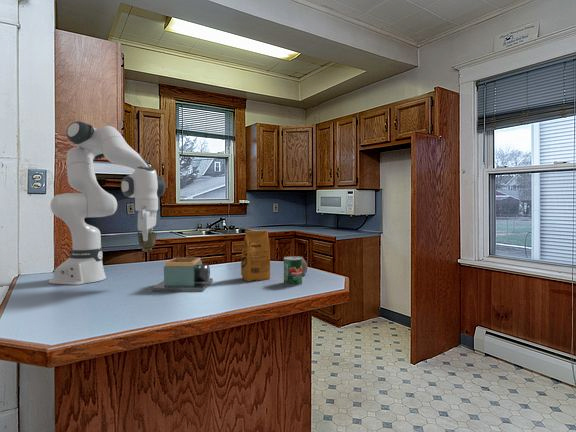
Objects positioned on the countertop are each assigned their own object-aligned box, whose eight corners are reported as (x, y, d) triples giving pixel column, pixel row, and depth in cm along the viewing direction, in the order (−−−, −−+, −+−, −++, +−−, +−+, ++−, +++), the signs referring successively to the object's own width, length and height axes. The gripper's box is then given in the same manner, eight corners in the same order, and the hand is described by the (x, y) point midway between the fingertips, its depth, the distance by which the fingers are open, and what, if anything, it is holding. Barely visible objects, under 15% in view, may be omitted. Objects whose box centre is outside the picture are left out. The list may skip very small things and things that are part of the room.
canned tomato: (296, 286, 146) (296, 260, 145) (280, 284, 150) (279, 258, 150) (305, 282, 153) (305, 257, 152) (290, 280, 157) (289, 255, 156)
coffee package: (239, 277, 163) (238, 229, 162) (265, 275, 168) (264, 228, 167) (245, 282, 154) (244, 231, 153) (272, 279, 159) (271, 230, 157)
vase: (309, 274, 169) (309, 255, 169) (305, 277, 163) (305, 258, 162) (295, 273, 172) (295, 255, 171) (290, 276, 165) (290, 257, 165)
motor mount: (152, 291, 140) (151, 263, 140) (167, 281, 156) (166, 256, 156) (202, 291, 140) (202, 263, 139) (212, 281, 156) (212, 256, 155)
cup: (159, 251, 148) (159, 232, 148) (140, 252, 143) (140, 232, 143) (152, 250, 154) (153, 231, 154) (135, 250, 149) (135, 231, 149)
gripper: (150, 207, 138) (151, 242, 139) (158, 205, 158) (159, 236, 159) (132, 207, 137) (133, 243, 138) (143, 205, 157) (144, 236, 158)
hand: (147, 239), depth 148 cm, fingers closed on cup, 7 cm apart
